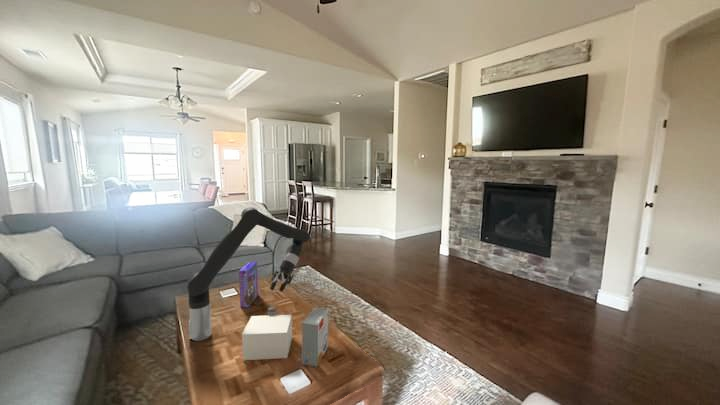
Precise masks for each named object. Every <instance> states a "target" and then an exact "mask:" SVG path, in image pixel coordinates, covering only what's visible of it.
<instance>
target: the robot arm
mask: <svg viewBox="0 0 720 405" xmlns="http://www.w3.org/2000/svg"><path fill="white" fill-rule="evenodd" d="M240 216H241V218H240V219H239V221H238V223H237V224H236V225H235V226H234V228H233V229H232V230H231V231H229V232H228V233H227V234H226V235H225V236H224V237H222V238H221V240H220V241H219V242H218V243H217V244H216V246H215V247H214V248H213V250H212V252H211V253H210V255H209V257H208V259H207V261H206V262H205V265H204V266H203V267H202V269H201V270H200V271H199V272H195V273H193V274H191V275H190V277H189V278H188V280H187V292H188V308H189V311H188V312H189V321H188V323H187V324H188V338H189V339H188V340H190V339H192V341H193V340H194V341H195V342H200V341H203V340H204V341H205V340H206V339H209V338H210V337H211V336H212V320H211V304H210V302H211V301H210V285H211V284H212V283H213V281H214V279H215V278H216V276H217V274H219V272H220V271H221V270H222V269H223V268H224V266H225V265H226V264H227V263H228V261H229V260H230V259H231V258H232V257H233V255H234V254H235V253H236V252H237V250H238V249H239V247H240V246H241V245H242V244H243V242H244V240H245V239H246V237H247V236H248V235H249V233H251V232H252V230H254V229H255V227H256V226H260V227H262V228H265V229H267V230H269V231H271V232H272V233H274V234H276V235H279V236H281V237H283V238H286V239H292V241H291V245H290V248H289V249H288V251H287V253H286V254H285V256H284V258H283V260H282V262H281V264H280V266H279V269H280V270H279V271H278V270H276V271H275V272H274V273H273V275H272V278H271V279H270V281H271V285H270V287H269V289H270V290H271V291H274V290H275V288H276V286H277V284H278V283H279V282H281V281H282V283H280V284H281V285H280V287H279V288H278V291H279V292H282V293H283V292H284V290H285V288H286V286H287V285H290V284H291V282H292V279H293V277H294V273H293V272H294V270H295V267H296V265H297V264H298V262H299V259H300V256H301V255H302V252H303V249H302V247H303V245H304V244H306V243H308V242H309V241H310V239H311V235H310V233H309V232H308V231H306V230H305V229H301V228H298V227H293V226H291V225H289V224H287V223H284V222H281V221H279V220H276V219H274V218H271V217H269V216H268V215H266V214H264V213H263V212H261V211H259V210H258V209H257V208H255V207H251V206H248V207H246V208H244V209H243V210H242V212H241V214H240Z"/></svg>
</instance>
